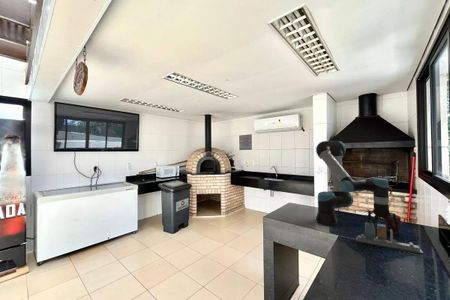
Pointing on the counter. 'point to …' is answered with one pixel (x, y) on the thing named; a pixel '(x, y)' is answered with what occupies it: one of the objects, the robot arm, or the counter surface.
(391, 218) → the mechanical component
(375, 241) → the rail
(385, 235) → the pale blue-grey block
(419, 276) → the counter surface
